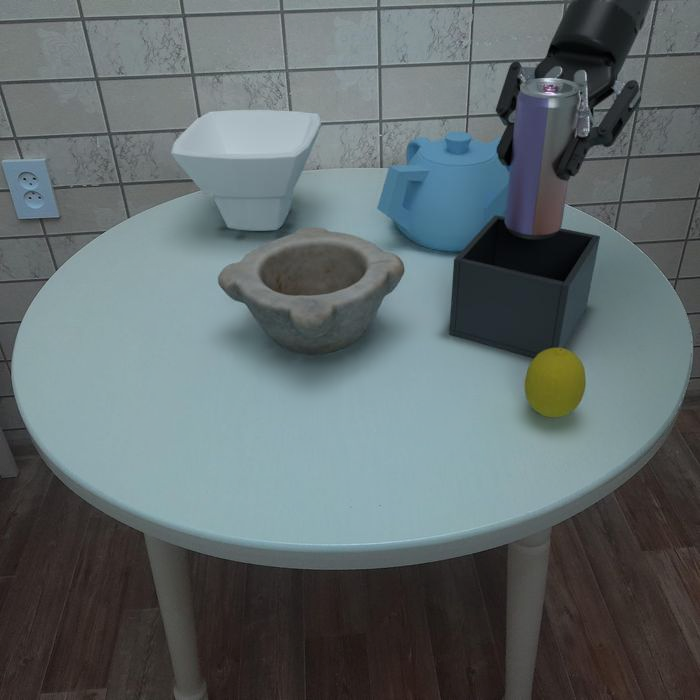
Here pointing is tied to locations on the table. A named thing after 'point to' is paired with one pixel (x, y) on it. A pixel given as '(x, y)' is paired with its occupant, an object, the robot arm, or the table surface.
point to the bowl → (248, 162)
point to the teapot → (446, 190)
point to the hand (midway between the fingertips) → (532, 168)
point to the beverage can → (540, 156)
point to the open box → (521, 288)
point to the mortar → (313, 287)
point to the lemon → (555, 382)
